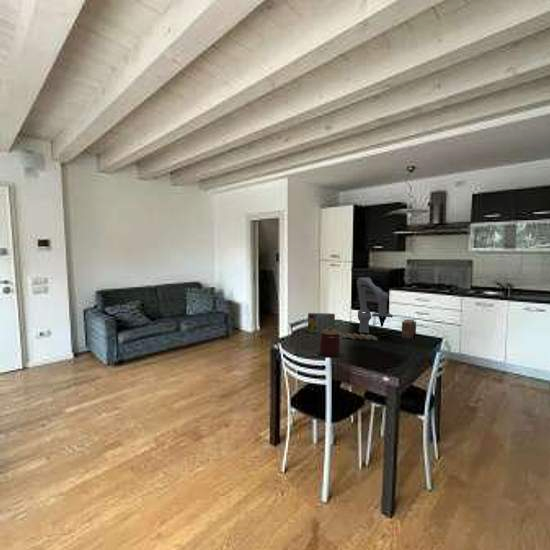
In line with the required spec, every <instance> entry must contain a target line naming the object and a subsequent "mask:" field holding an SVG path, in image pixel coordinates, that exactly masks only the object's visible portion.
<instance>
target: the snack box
mask: <svg viewBox="0 0 550 550" xmlns="http://www.w3.org/2000/svg"><path fill="white" fill-rule="evenodd" d="M335 321H336V315H335V313H329V312H328V313H326V312H325V313H322V312H321V313H319V312H318V313H317V312H308V313H307V332H308V333H317V334H318V333H320V334H322V332H321V331H323V330H324V329H328V328H329V327H332V329H335V330H336V327H335Z"/></svg>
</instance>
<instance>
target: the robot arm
mask: <svg viewBox="0 0 550 550" xmlns="http://www.w3.org/2000/svg"><path fill="white" fill-rule="evenodd" d="M372 280H373V279H372V278H370V277H358V278H357V280H356V286H357V289H358V290H357V291H358V298H359V307H360V309H359V310H358V311H357V319H358V321H359V328H358V333H364V334H365V333H367V334H370V330H369V329H370V328H369V327H370V320H371V319H372V317H378V320H379V323H380V327H382V328H383V327H384V324H385V321H386V320H387V318H393V314H391V313H387V307H388V300H389V299H390V298H389V293H388V292H386V291H384V290H383V289H382V288H381V287H380V286H376V285H375V284H374V282H373V281H372ZM368 287H369V288H370V289H371V290H372V292H373V294H375V295H376V299H377V302H378V310H377V312H378V313H371V310H370V309H369V308H368V304H367V296H366V295H367V294H366V289H367V288H368Z"/></svg>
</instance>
